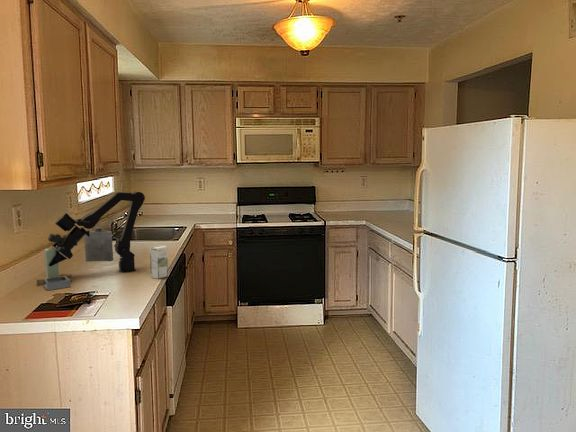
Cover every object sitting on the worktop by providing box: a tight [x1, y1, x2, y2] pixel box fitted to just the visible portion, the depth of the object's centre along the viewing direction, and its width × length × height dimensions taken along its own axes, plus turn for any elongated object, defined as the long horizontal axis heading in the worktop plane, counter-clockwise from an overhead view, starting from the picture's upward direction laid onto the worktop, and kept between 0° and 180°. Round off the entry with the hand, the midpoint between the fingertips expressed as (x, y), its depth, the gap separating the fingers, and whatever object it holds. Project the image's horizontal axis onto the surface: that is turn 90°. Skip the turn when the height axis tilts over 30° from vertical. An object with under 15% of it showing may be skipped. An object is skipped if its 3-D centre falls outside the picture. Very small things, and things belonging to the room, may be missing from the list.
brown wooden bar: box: [36, 274, 73, 287], centre depth 213 cm, size 14×2×2 cm, turn 125°
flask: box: [83, 226, 114, 262], centre depth 257 cm, size 4×14×18 cm, turn 93°
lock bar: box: [44, 247, 60, 278], centre depth 217 cm, size 4×4×14 cm
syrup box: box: [149, 244, 169, 280], centre depth 221 cm, size 6×6×14 cm
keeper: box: [43, 275, 71, 291], centre depth 207 cm, size 9×9×3 cm
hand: (48, 264), depth 216 cm, fingers closed on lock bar, 4 cm apart
